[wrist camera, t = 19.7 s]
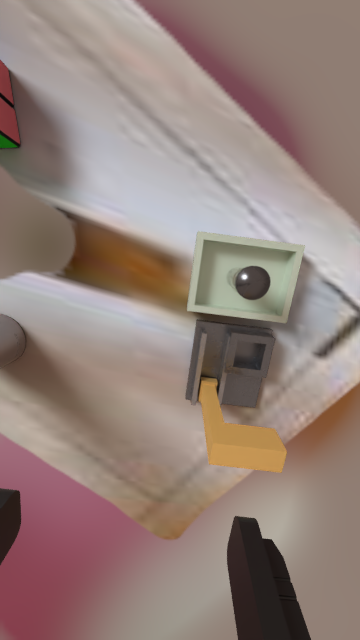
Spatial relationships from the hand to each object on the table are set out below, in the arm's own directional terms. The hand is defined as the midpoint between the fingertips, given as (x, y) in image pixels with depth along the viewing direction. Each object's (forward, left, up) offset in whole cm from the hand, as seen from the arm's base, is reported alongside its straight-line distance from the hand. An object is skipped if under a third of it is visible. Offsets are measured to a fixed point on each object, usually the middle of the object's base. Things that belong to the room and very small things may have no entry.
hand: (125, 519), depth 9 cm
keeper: (+11, -12, -33) cm, 36 cm away
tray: (+11, +8, -34) cm, 37 cm away
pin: (+10, +8, -33) cm, 36 cm away
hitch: (+11, -7, -34) cm, 37 cm away
